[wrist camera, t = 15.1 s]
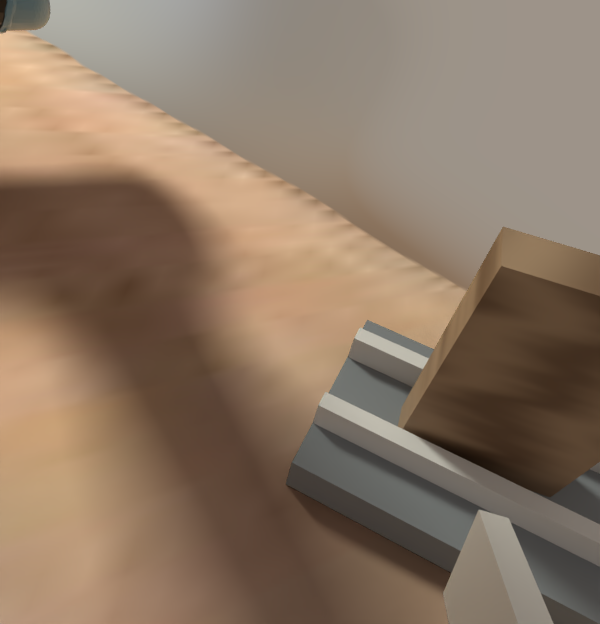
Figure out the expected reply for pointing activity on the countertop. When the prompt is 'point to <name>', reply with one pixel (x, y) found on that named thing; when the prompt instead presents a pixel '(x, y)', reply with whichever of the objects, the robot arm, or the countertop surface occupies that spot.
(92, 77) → the countertop surface
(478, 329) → the walnut photo frame
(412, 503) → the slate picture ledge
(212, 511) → the countertop surface
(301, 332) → the countertop surface
